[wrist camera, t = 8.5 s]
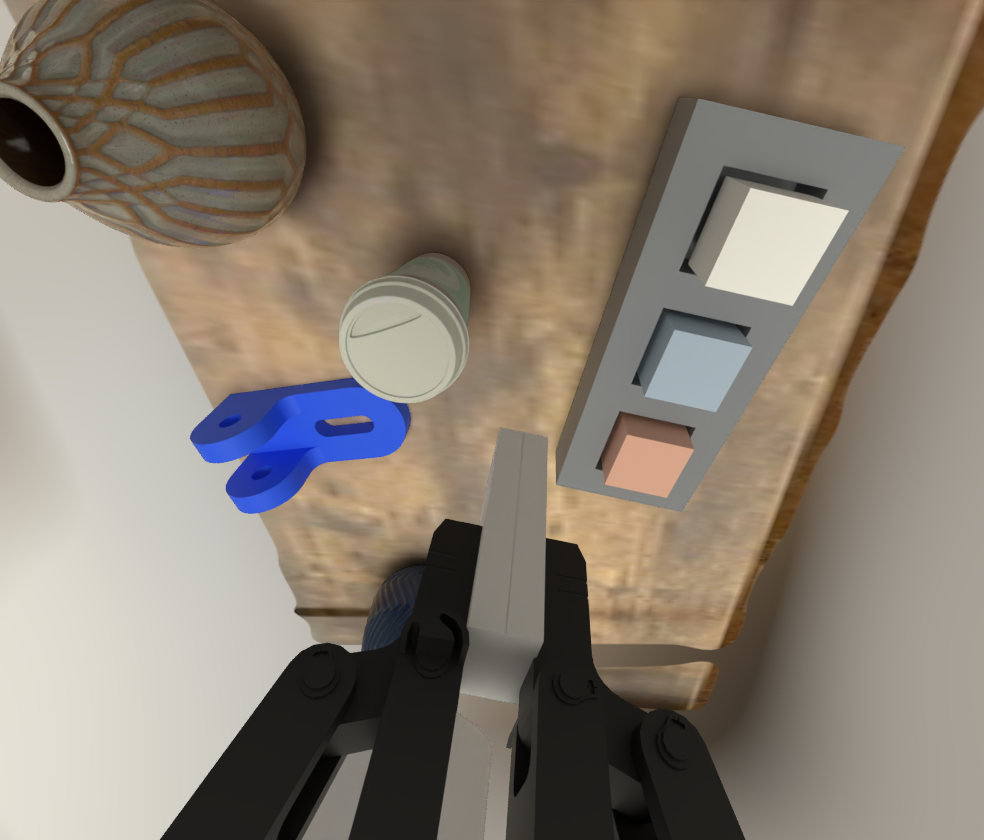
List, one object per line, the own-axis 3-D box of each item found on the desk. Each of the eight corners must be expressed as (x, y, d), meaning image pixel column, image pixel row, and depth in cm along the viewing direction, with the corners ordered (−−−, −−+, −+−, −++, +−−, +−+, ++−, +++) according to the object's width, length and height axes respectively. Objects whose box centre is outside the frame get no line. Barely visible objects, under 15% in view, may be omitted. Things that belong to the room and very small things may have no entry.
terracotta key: (620, 403, 40) (627, 434, 37) (681, 417, 40) (694, 449, 37) (600, 451, 43) (604, 484, 40) (657, 464, 43) (666, 497, 40)
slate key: (662, 305, 35) (674, 329, 31) (732, 321, 35) (752, 347, 32) (635, 367, 38) (644, 396, 35) (700, 381, 38) (715, 412, 35)
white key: (725, 175, 28) (750, 187, 25) (812, 195, 29) (849, 210, 25) (687, 263, 32) (704, 286, 28) (765, 281, 32) (792, 305, 28)
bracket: (268, 456, 53) (222, 515, 45) (231, 393, 48) (173, 448, 41) (420, 440, 49) (397, 502, 42) (396, 371, 45) (364, 426, 37)
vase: (126, -14, 30) (-260, -108, 16) (327, 15, 30) (120, -54, 16) (180, 206, 38) (-48, 276, 23) (341, 230, 37) (210, 317, 23)
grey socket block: (679, 97, 30) (698, 98, 26) (858, 139, 31) (906, 146, 26) (555, 451, 48) (556, 484, 44) (671, 476, 48) (682, 512, 44)
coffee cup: (497, 249, 37) (476, 306, 27) (476, 345, 42) (452, 423, 32) (390, 222, 37) (330, 270, 27) (381, 322, 42) (328, 393, 32)
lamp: (539, 585, 60) (524, 1076, 30) (449, 643, 70) (371, 1054, 40) (406, 505, 54) (224, 1015, 24) (329, 582, 65) (135, 1007, 35)
